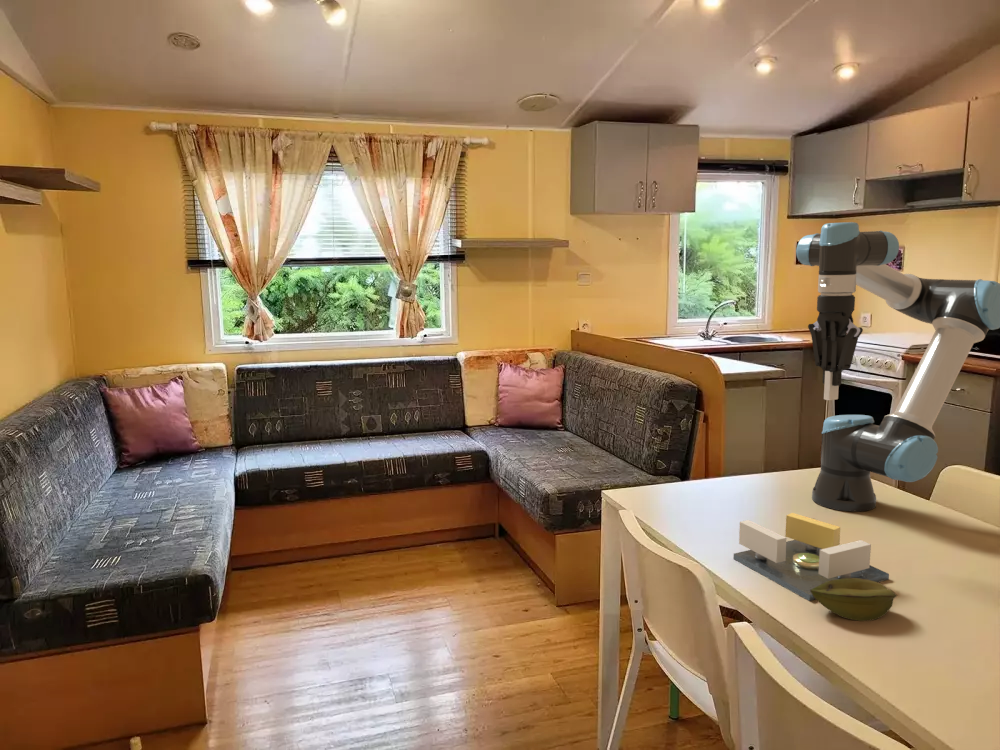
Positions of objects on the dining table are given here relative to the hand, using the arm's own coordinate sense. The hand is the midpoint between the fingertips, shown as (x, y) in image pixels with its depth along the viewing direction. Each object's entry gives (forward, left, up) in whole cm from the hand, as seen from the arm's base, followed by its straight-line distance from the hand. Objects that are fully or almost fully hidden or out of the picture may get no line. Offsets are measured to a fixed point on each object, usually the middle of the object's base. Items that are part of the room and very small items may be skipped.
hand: (830, 399), depth 159 cm
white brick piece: (+16, +20, -31) cm, 40 cm away
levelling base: (+17, +12, -32) cm, 38 cm away
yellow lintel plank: (+11, +7, -31) cm, 33 cm away
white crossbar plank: (+24, +6, -31) cm, 40 cm away
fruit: (+24, +29, -33) cm, 50 cm away
